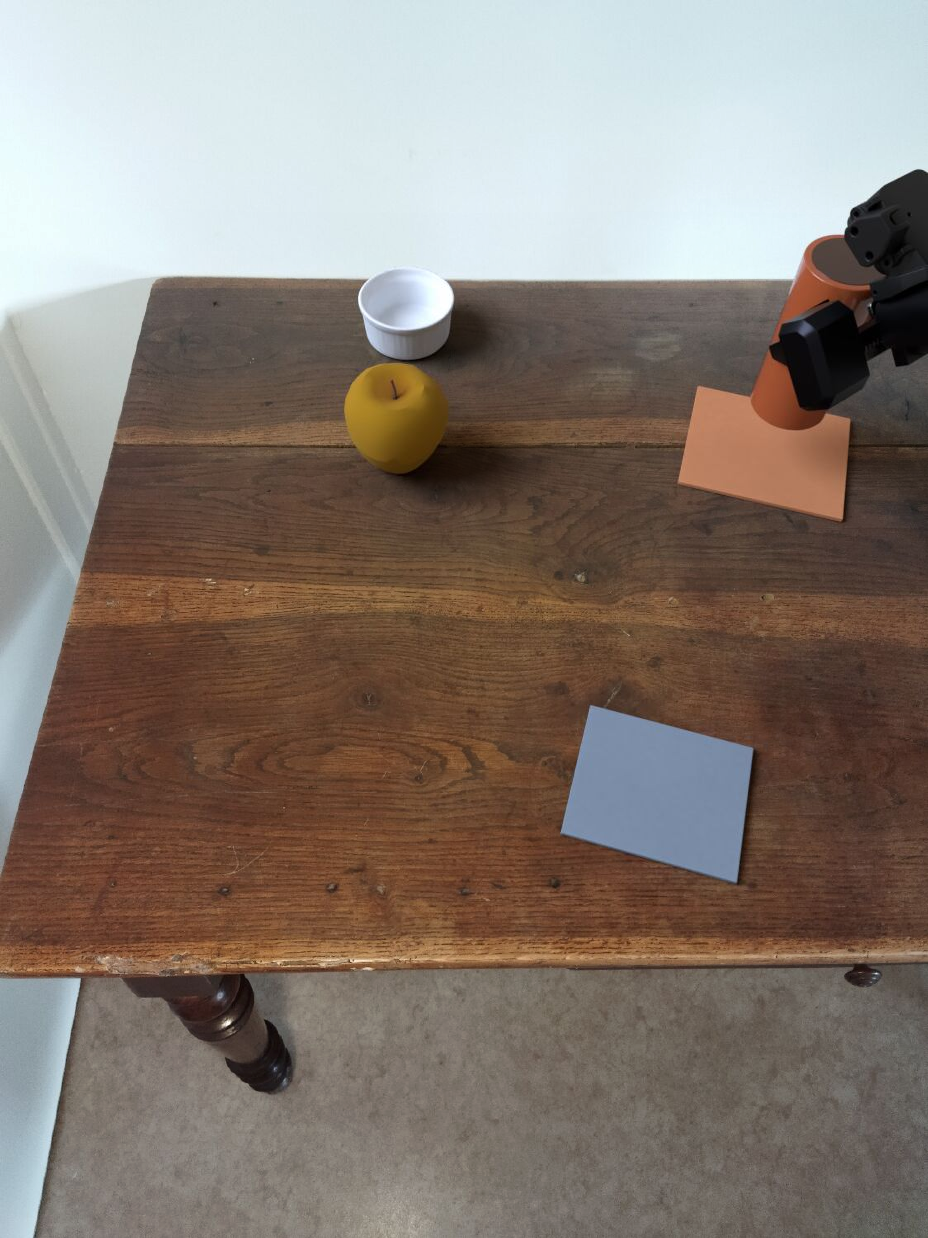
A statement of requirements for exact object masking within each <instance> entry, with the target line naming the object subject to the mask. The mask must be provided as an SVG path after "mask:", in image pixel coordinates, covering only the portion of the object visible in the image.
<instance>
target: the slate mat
mask: <svg viewBox="0 0 928 1238" xmlns="http://www.w3.org/2000/svg"><path fill="white" fill-rule="evenodd" d="M586 718H587V719H586V722H585V726H584V731H583V736H582V739H581V743H580V748H579V752H578V757H577V761H576V765H575V769H574V774H573V778H572V781H571V786H570V791H569V795H568V800H567V803H566V808H565V813H564V816H563V821H562V826H561V830H560V835H562V836H565V837H568V838H571V839H575V840H580V841H583V842H587V843H589V844H593V845H597V846H599V847H604V848H607V849H611V850H614V851H618V852H621V853H625V854H628V855H632V856H636V857H638V858H639V857H640V858H641V859H642V858H643V859H646V860H650V861H654V862H655V863H656V862H657V863H659V864H660V863H661V864H664V865H668V866H670V867H673V868H677V869H682V870H685V871H688V872H692V873H695V874H699V875H702V876H707V877H708V878H709V877H710V878H713V879H716V880H720V881H724V882H726V883H731V884H735V885H736V884H737V883H738V880H739V879H738V877H739V870H740V861H741V854H742V847H743V846H742V844H743V837H744V830H745V829H744V828H745V823H746V822H745V820H746V814H747V813H746V812H747V805H748V795H749V789H750V780H751V772H752V764H753V756H754V747H752V746H751V747H750V746H749V745H744V744H740V743H737V742H732V741H729V740H725V739H721V738H718V737H714V736H709V735H706V734H702V733H699V732H694V731H692V730H691V731H690V730H687V729H683V728H679V727H675V726H672V725H668V724H664V723H661V722H657V721H653V720H649V719H645V718H641V717H638V716H633V715H630V714H627V713H622V712H618V711H615V710H611V709H608V708H605V707H604V708H603V707H600V706H596V705H592V704H590V705H589V708H588V713H587V717H586Z"/></svg>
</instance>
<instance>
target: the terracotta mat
mask: <svg viewBox="0 0 928 1238" xmlns="http://www.w3.org/2000/svg"><path fill="white" fill-rule="evenodd" d="M694 397H695V398H694V402H693V406H692V412H691V417H690V421H689V426H688V430H687V431H688V432H687V436H686V441H685V446H684V451H683V456H682V460H681V465H680V470H679V474H678V475H679V476H678V480H677V485H679V486H683V487H686V488H690V489H691V488H692V489H696V490H701V491H703V492H704V491H705V492H709V493H714V494H718V495H721V496H727V497H731V498H735V499H740V500H743V501H747V502H748V501H749V502H752V503H756V504H761V505H766V506H770V507H774V508H779V509H783V510H787V511H791V512H796V513H800V514H804V515H809V516H812V517H818V518H822V519H827V520H831V521H835V522H840V523H842V521H843V520H844V507H845V496H846V486H847V485H846V484H847V471H848V457H849V443H850V432H851V418H849V417H844V416H841V415H835V414H831V413H826V415H825V417H824V418H823V420H822V421H821V422H820V423H819V424H817V425H816V426H814V427H812V428H809V429H805V430H796V431H795V430H785V429H781V428H778V427H775V426H773V425H771V424H769V423H767V422H765V421H764V420H763V419H761V418H760V417H759V416H758V415H757V414H756V412H755V411H754V409H753V407H752V404H751V399H750V397H751V396H749V395H742V394H738V393H733V392H729V391H724V390H719V389H715V388H710V387H706V386H702V385H701V386H700V385H698V386H697V388H696V393H695V396H694Z"/></svg>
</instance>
